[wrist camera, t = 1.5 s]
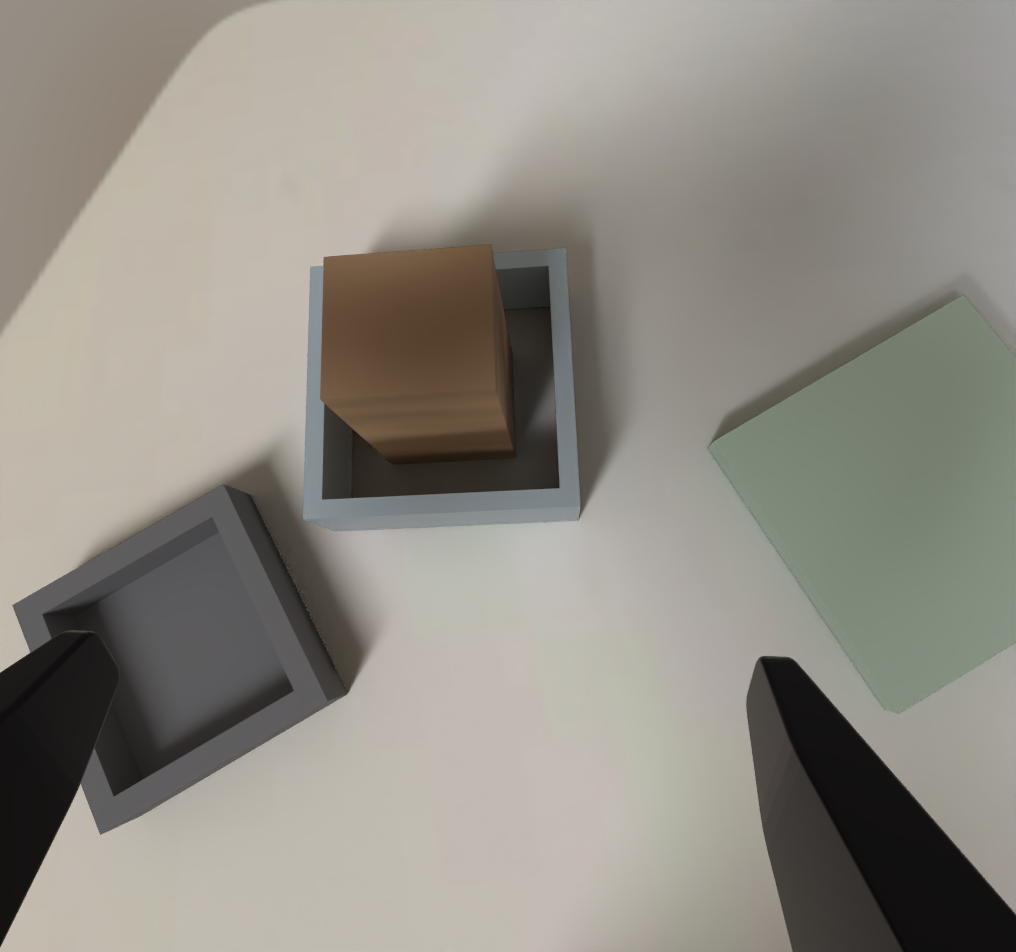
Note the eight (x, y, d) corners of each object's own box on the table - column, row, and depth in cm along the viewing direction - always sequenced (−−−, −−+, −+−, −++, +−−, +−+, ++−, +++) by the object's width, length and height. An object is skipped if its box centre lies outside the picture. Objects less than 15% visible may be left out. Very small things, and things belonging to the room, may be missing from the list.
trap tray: (140, 816, 23) (100, 834, 21) (56, 606, 24) (12, 605, 22) (347, 693, 23) (327, 701, 21) (250, 494, 25) (223, 484, 23)
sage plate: (884, 709, 22) (899, 713, 21) (707, 448, 24) (714, 441, 23) (1145, 550, 22) (1172, 547, 21) (947, 307, 24) (963, 294, 23)
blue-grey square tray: (578, 520, 24) (580, 506, 21) (334, 531, 24) (302, 519, 21) (565, 290, 25) (565, 248, 22) (339, 306, 26) (310, 266, 23)
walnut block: (516, 458, 24) (495, 388, 17) (392, 464, 25) (320, 399, 17) (512, 353, 25) (490, 244, 18) (393, 361, 25) (323, 256, 18)
